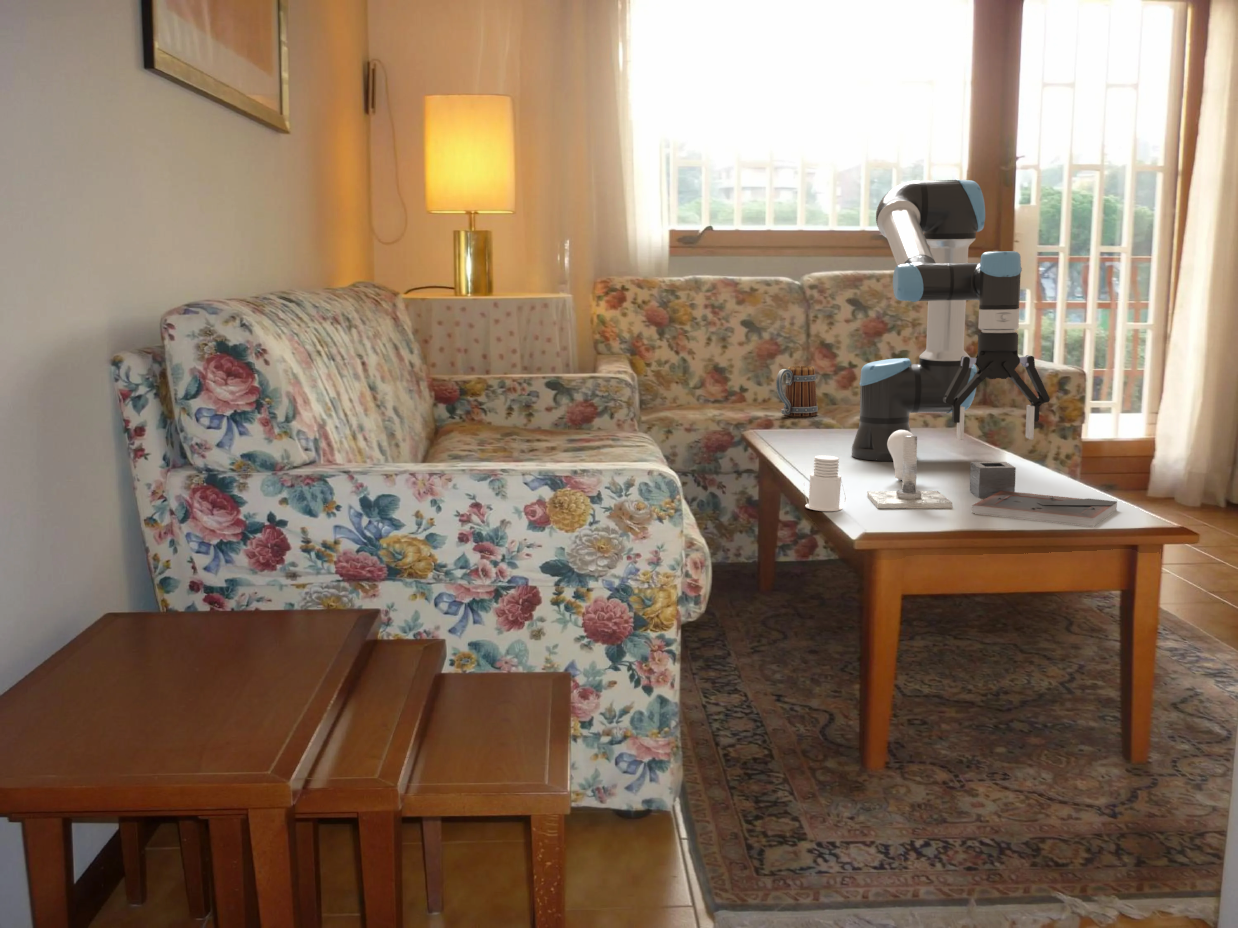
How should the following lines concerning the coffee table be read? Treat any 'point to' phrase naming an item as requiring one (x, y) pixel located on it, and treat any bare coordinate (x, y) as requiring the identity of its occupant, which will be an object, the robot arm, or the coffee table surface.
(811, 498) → the downlight
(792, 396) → the mug
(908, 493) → the shaft
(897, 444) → the lightbulb
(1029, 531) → the coffee table surface
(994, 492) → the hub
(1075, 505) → the picture frame
